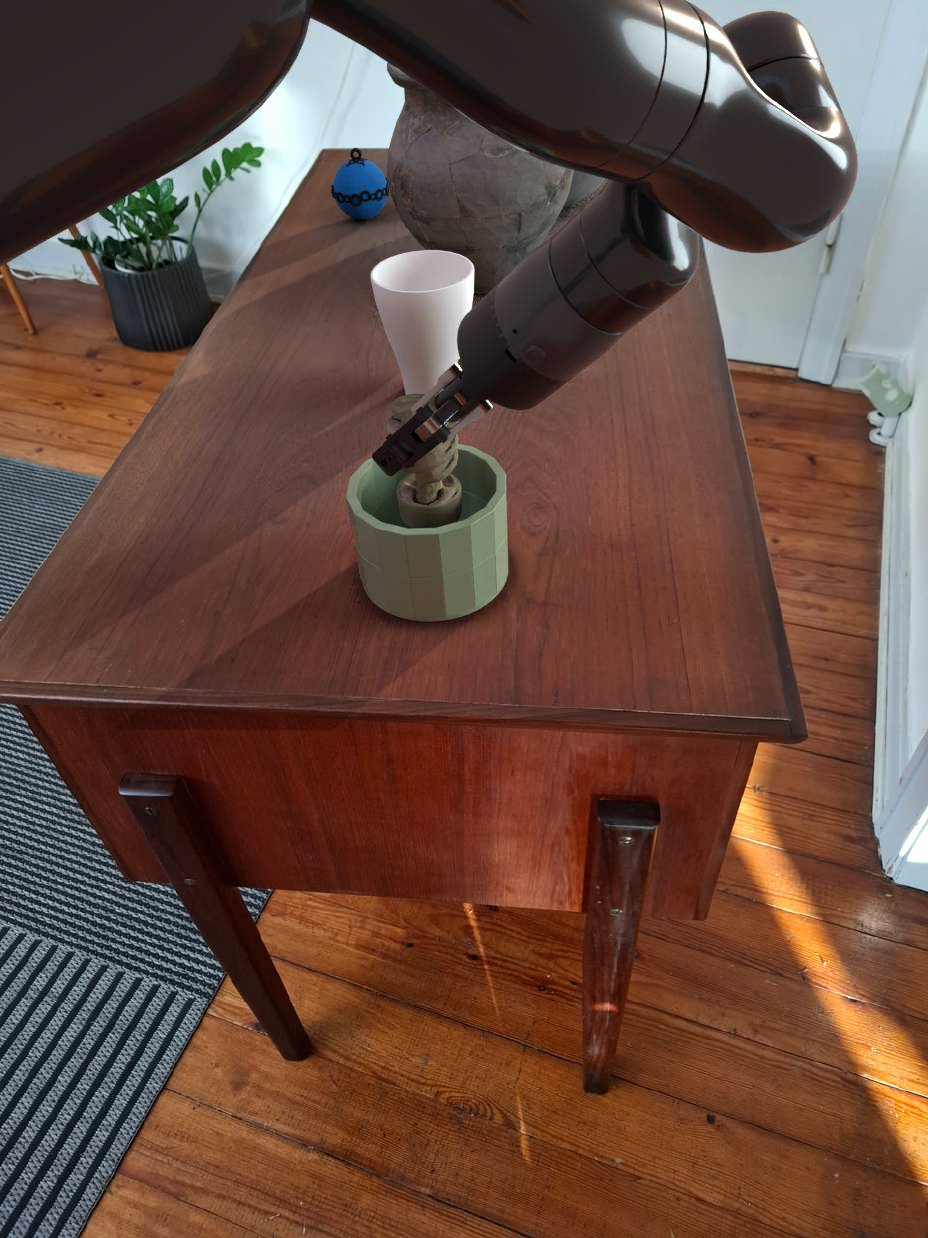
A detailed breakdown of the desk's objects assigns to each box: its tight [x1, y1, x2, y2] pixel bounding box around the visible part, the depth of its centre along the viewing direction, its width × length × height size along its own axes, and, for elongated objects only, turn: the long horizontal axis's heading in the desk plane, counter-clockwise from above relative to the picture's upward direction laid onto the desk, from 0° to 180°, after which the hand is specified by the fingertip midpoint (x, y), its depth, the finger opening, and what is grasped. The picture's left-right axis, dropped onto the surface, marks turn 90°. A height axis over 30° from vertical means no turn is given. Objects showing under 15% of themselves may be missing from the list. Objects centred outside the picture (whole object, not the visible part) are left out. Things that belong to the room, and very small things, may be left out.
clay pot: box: [386, 62, 574, 295], centre depth 107 cm, size 23×25×30 cm
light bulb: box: [384, 394, 462, 529], centre depth 70 cm, size 6×6×15 cm
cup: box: [370, 249, 475, 395], centre depth 94 cm, size 10×10×14 cm
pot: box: [345, 443, 509, 623], centre depth 74 cm, size 13×13×9 cm
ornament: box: [330, 147, 390, 221], centre depth 135 cm, size 9×9×10 cm
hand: (404, 444), depth 69 cm, fingers closed on light bulb, 5 cm apart
